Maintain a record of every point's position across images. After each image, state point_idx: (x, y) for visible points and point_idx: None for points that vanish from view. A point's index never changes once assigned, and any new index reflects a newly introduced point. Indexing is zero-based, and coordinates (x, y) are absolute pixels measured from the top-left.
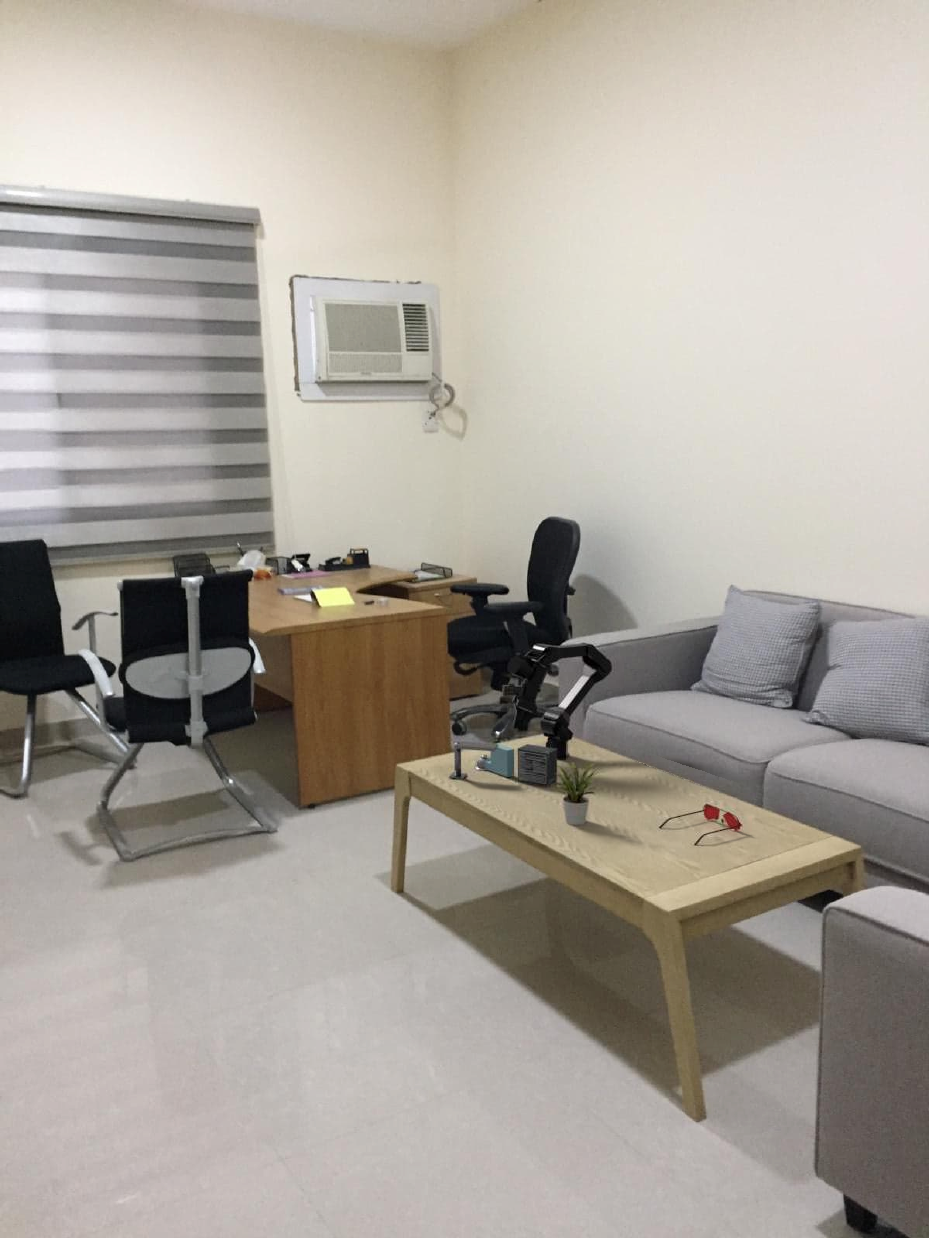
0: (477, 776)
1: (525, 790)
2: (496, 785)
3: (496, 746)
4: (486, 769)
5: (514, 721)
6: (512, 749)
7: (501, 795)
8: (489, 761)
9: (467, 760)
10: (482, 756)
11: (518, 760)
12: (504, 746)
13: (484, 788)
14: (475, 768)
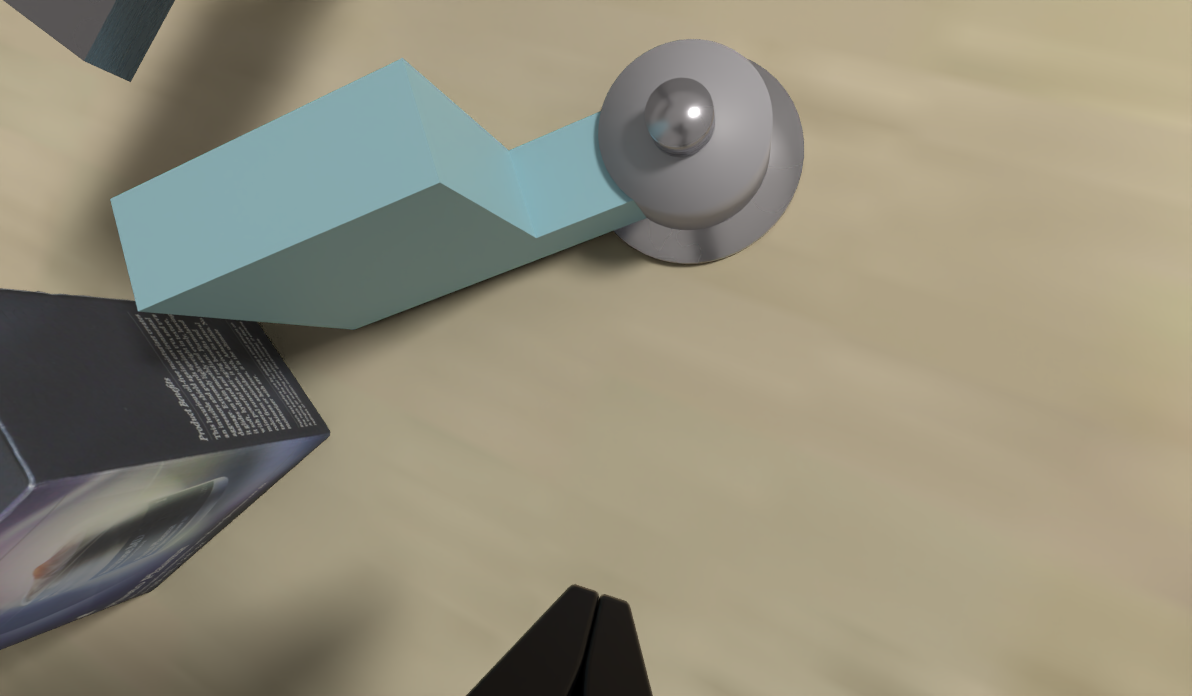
0: (466, 31)
1: (77, 292)
2: (226, 124)
3: (27, 15)
4: None
5: (511, 680)
6: (134, 284)
7: (49, 99)
8: (582, 160)
9: (1001, 49)
10: (662, 88)
11: (65, 298)
12: (270, 226)
13: (199, 19)
14: None
